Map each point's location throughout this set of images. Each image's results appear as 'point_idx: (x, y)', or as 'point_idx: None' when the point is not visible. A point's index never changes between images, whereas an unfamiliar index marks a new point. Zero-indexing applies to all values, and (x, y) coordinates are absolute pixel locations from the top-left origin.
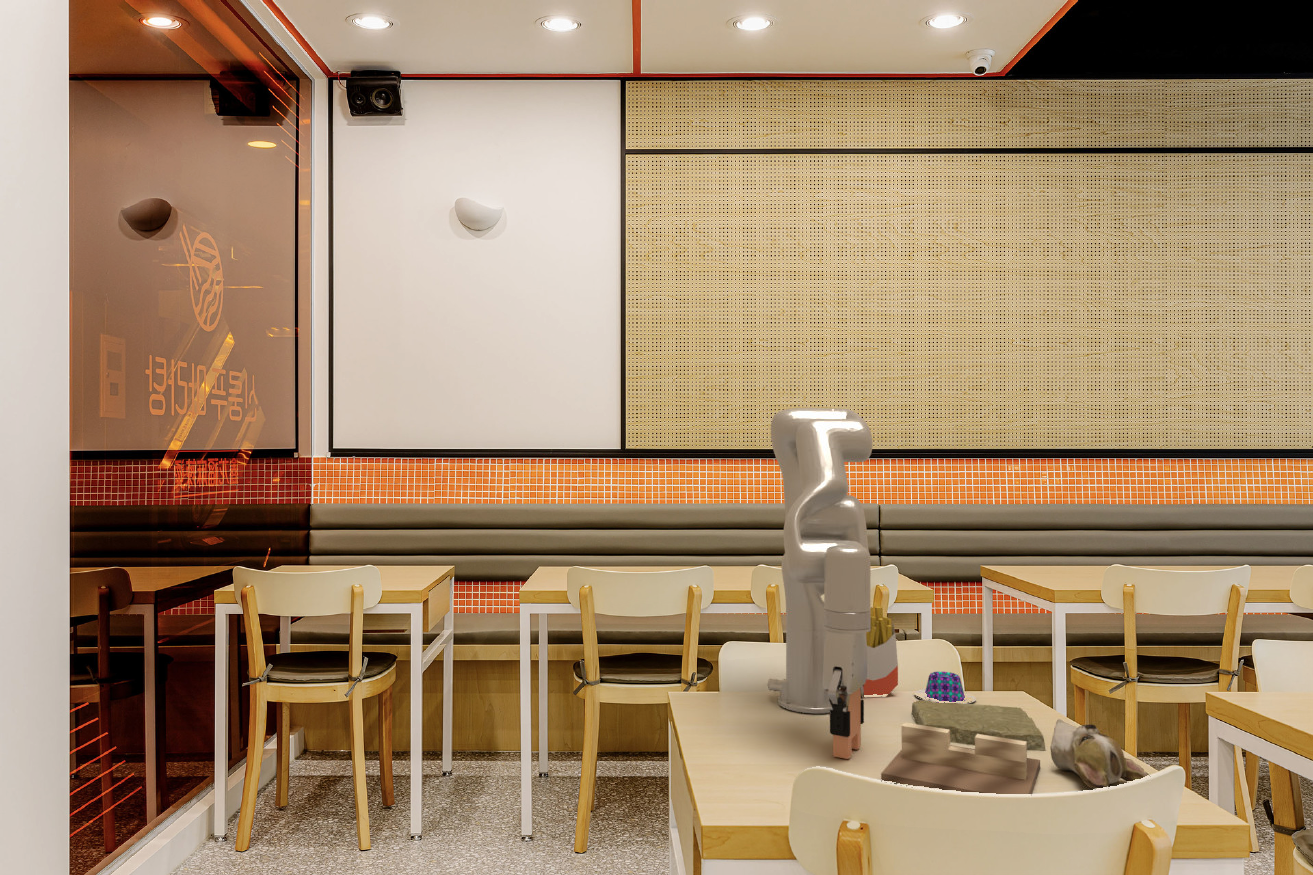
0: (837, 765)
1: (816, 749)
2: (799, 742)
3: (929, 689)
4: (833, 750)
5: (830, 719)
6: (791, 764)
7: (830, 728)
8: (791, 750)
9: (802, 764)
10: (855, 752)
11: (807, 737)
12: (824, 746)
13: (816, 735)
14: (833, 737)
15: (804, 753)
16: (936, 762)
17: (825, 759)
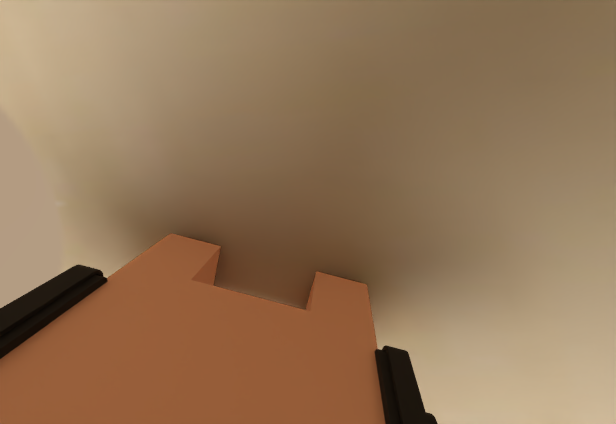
0: (87, 252)
1: (266, 145)
2: (354, 40)
3: None
4: (158, 243)
5: (3, 310)
6: (2, 45)
7: (61, 277)
8: (204, 14)
9: (28, 100)
10: None
11: (458, 76)
12: (325, 181)
13: (506, 124)
14: (123, 268)
15: (183, 91)
16: None
17: (140, 198)
